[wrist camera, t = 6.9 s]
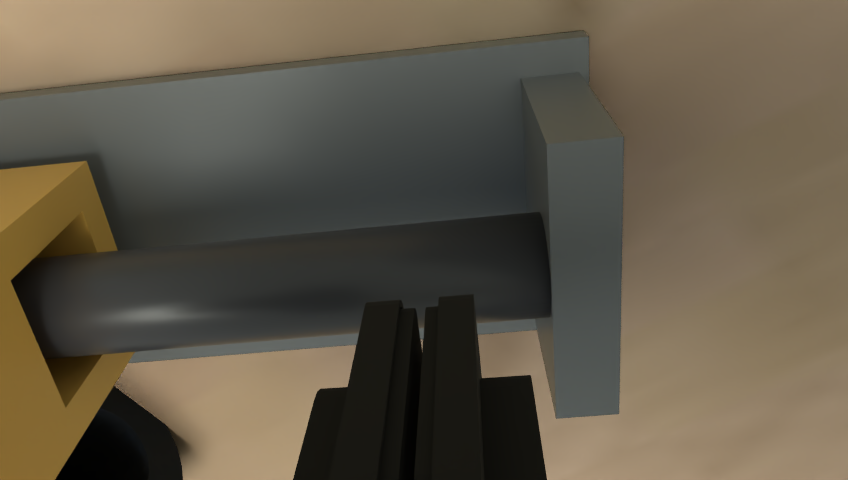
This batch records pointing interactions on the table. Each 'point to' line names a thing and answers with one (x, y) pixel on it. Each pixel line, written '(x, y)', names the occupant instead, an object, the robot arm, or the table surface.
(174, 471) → the pipe connector
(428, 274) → the grey slider rail base
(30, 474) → the yellow sliding block
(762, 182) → the table surface
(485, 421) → the robot arm
